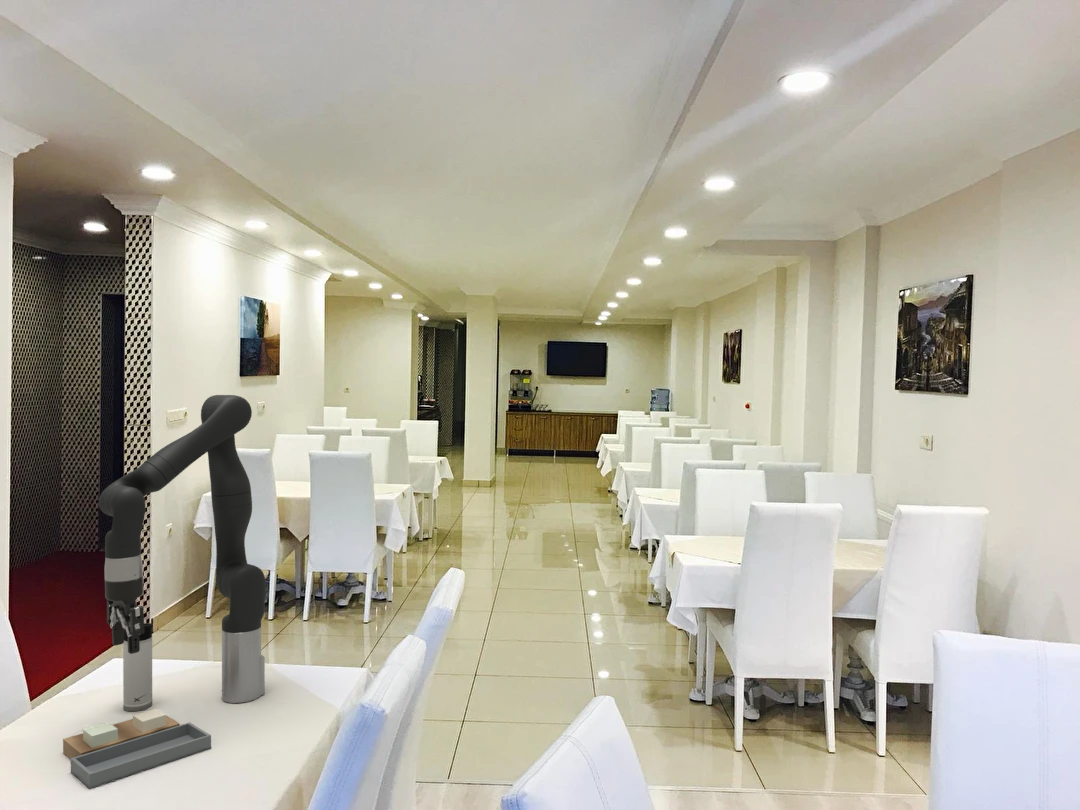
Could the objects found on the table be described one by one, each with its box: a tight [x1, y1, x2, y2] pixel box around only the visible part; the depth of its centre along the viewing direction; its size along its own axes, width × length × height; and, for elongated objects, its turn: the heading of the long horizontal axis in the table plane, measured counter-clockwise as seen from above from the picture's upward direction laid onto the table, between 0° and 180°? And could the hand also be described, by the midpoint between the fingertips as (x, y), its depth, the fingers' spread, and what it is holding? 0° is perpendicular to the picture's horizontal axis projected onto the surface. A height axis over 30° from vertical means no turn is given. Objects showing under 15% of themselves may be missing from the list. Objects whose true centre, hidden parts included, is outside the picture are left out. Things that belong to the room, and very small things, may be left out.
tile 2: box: [132, 708, 167, 733], centre depth 178 cm, size 5×5×2 cm
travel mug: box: [122, 622, 153, 713], centre depth 196 cm, size 6×7×20 cm
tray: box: [70, 721, 212, 790], centre depth 168 cm, size 24×10×3 cm, turn 138°
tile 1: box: [82, 721, 118, 748], centre depth 170 cm, size 5×5×2 cm
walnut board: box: [62, 715, 180, 760], centre depth 175 cm, size 20×10×3 cm, turn 138°
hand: (125, 648), depth 180 cm, fingers open, 8 cm apart
